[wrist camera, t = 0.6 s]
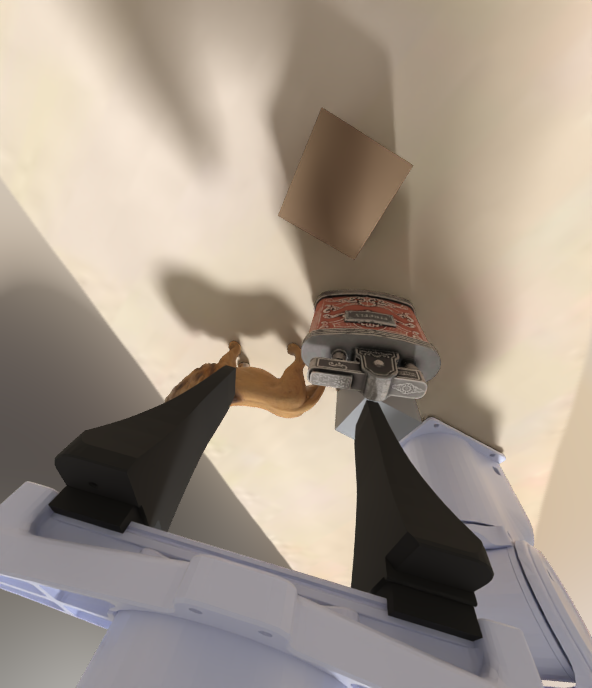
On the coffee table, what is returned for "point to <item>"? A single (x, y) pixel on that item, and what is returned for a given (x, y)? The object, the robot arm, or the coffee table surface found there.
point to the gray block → (395, 409)
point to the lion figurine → (261, 384)
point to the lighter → (368, 345)
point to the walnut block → (342, 185)
